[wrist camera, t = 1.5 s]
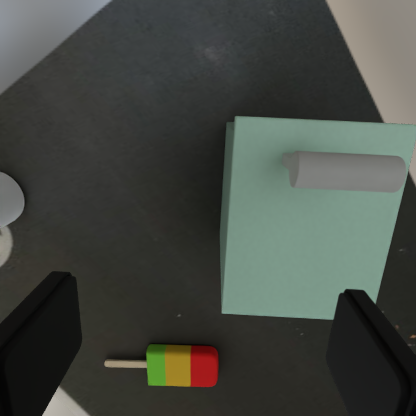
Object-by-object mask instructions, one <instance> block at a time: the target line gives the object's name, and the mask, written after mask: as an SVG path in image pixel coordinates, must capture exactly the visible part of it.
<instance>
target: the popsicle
mask: <svg viewBox="0 0 416 416" xmlns="http://www.w3.org/2000/svg"><path fill="white" fill-rule="evenodd" d="M146 358H147V361H143V360H109V359H108V360H106V361H105V366H107V367H131V368H147V374H148V385H162V386H195V387H211V386H214V385H215V384H216V382H217V379H218V352H217V350H216V349H215V348H214V347H212V346H197V345H162V344H150V345H149V346H148V348H147V352H146Z"/></svg>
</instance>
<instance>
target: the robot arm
mask: <svg viewBox="0 0 416 416" xmlns="http://www.w3.org/2000/svg"><path fill="white" fill-rule="evenodd" d="M81 343H82V333H81V323H80V312H79V302H78V292H77V282H76V278H75V277H73V276H72V275H71V273H70V272H58V271H52V272H51V273H50V274H49V275H48V276H47V277H46V278H45V279H44V280H43V281H42V282H41V283H40V284H39V285H38V286H37V287H36V288H35V289H34V290H33V291H32V292H31V293H30V294H29V295H28V296H27V297H26V298H25V299H24V300H23V301H22V302H21V303H20V304H19V305H18V306H17V307H16V308H15V309H14V310H13V311H12V312H11V313H10V314H9V315H8V316H7V317H6V318H5V319H4V320H3V321H2V322H1V324H0V416H42V415H43V413H44V411H45V410H46V408H47V406H48V404H49V402H50V401H51V399H52V397H53V395H54V394H55V392H56V390H57V388H58V386H59V385H60V383H61V381H62V379H63V378H64V376H65V374H66V372H67V370H68V369H69V367H70V365H71V363H72V362H73V360H74V358H75V356H76V354H77V353H78V351H79V349H80V346H81ZM326 361H327V365H328V367H329V370H330V372H331V374H332V377H333V379H334V382H335V384H336V386H337V389H338V391H339V393H340V396H341V398H342V401H343V403H344V405H345V408H346V410H347V412H348V415H349V416H416V355H415V354H414V353H413V351H412V350H411V349H410V348H409V346H408V345H407V344H406V343H405V341H404V340H403V339H402V337H401V336H400V335H399V334H398V332H397V331H396V330H395V329H394V327H393V326H392V325H391V323H390V322H389V321H388V320H387V318H386V317H385V316H384V315H383V313H382V312H381V311H380V309H379V308H378V307H377V306H376V304H375V303H374V302H373V301H372V299H371V298H370V297H369V295H368V294H367V293H366V292H365V291H364V290H359V289H345V291H344V293H340V294H339V296H338V301H337V305H336V310H335V314H334V319H333V324H332V328H331V333H330V338H329V342H328V347H327V351H326Z"/></svg>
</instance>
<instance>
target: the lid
mask: <svg viewBox="0 0 416 416" xmlns="http://www.w3.org/2000/svg"><path fill="white" fill-rule="evenodd" d="M415 141H416V125H412V124H393V123H372V122H352V121H331V120H310V119H289V118H269V117H248V116H235V121H234V135H233V150H232V164H231V179H230V193H229V208H228V222H227V236H226V251H225V265H224V280H223V294H222V313H224V314H242V315H260V316H278V317H296V318H314V319H334V314H335V310H336V305H337V301H338V296H339V294H340V293H344V291H345V289H359V290H364V291H365V292H366V293H367V294H368V295H369V297H370V298H371V299H372V301H373V302H374V303H376V299H377V295H378V291H379V287H380V283H381V279H382V275H383V271H384V267H385V263H386V259H387V255H388V251H389V247H390V242H391V238H392V234H393V230H394V226H395V222H396V218H397V214H398V210H399V206H400V202H401V198H402V194H403V190H404V186H405V182H406V178H407V174H408V170H409V166H410V162H411V157H412V153H413V149H414V145H415Z"/></svg>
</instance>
